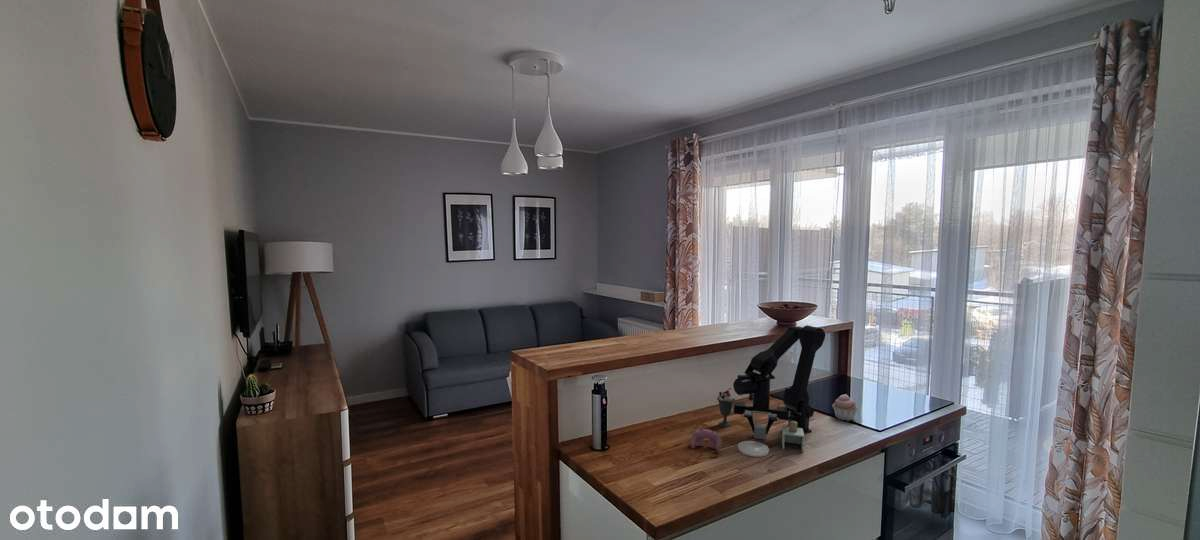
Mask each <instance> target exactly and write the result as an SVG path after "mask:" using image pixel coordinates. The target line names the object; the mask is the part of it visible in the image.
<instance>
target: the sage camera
mask: <svg viewBox="0 0 1200 540" xmlns="http://www.w3.org/2000/svg"><path fill="white" fill-rule="evenodd" d="M785 443H791V444H798V445H800V448H801V452H804V449H805V432H803V428H797V422H796V421H789V427H788V426H787V425H782V431H781V444H782V450H783V449H785Z"/></svg>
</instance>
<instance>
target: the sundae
mask: <svg viewBox="0 0 1200 540" xmlns="http://www.w3.org/2000/svg"><path fill="white" fill-rule="evenodd" d="M730 390H732V387H729V388H728V389H726V391H723V392H722V391H719V393H718V395H719V396H717V397H716V400H717V401H718V405H719V406H718V407H719V412H720V414H721V415H722V416H723V420H722V421H720V422H718V423H717V424H718V425H719V426H720V427H724V428H730V427H732V423H731V422H729V421H728V420H727V417H728V416H730V414H731V413H732V408H733V403H735V399H736V398H733V397H732V395H731V393H730Z"/></svg>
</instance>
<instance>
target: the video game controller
mask: <svg viewBox="0 0 1200 540" xmlns="http://www.w3.org/2000/svg"><path fill="white" fill-rule="evenodd" d="M691 435H692V436H691V446H690V447H691V449H695V448H696V445H697V443H698V445H699V447H704V446H705V445H706V442H705V440H704V439H708V440H707V446H708V447H709V448H714V447H715V449H716V452H717V453H720V450H721V447H722V439H721V438H722V437H721V435H720V434H719V433H717V431H714V430H713V429H712V430H711V429H706V428H705V429H704V428H701V429H697V430H695V431H693V433H692V434H691Z"/></svg>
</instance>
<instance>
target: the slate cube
mask: <svg viewBox="0 0 1200 540" xmlns="http://www.w3.org/2000/svg"><path fill="white" fill-rule="evenodd" d="M766 427H767V423H766V424H765V423H757V422H754V433H753V439H757V440H759V439H760V440H766V439H767V435H766Z"/></svg>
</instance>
